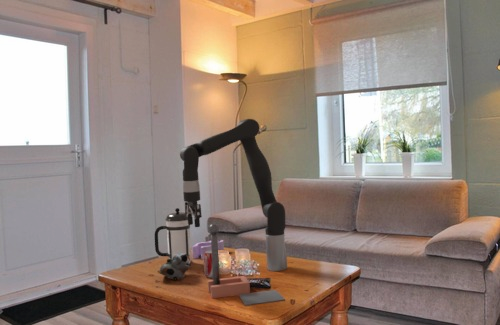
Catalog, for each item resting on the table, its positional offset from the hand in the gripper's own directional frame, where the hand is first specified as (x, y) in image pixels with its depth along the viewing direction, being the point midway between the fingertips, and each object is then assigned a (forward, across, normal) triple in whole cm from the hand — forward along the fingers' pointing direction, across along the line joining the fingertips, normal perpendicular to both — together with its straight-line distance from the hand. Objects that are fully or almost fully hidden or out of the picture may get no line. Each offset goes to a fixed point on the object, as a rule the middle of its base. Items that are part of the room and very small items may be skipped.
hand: (193, 225), depth 199 cm
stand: (+26, -21, 0) cm, 33 cm away
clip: (+26, +42, -24) cm, 55 cm away
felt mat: (+26, -36, -13) cm, 46 cm away
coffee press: (+26, +34, -2) cm, 42 cm away
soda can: (+26, +3, -9) cm, 28 cm away
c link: (+26, -22, -5) cm, 34 cm away
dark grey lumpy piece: (+26, +12, +6) cm, 29 cm away
